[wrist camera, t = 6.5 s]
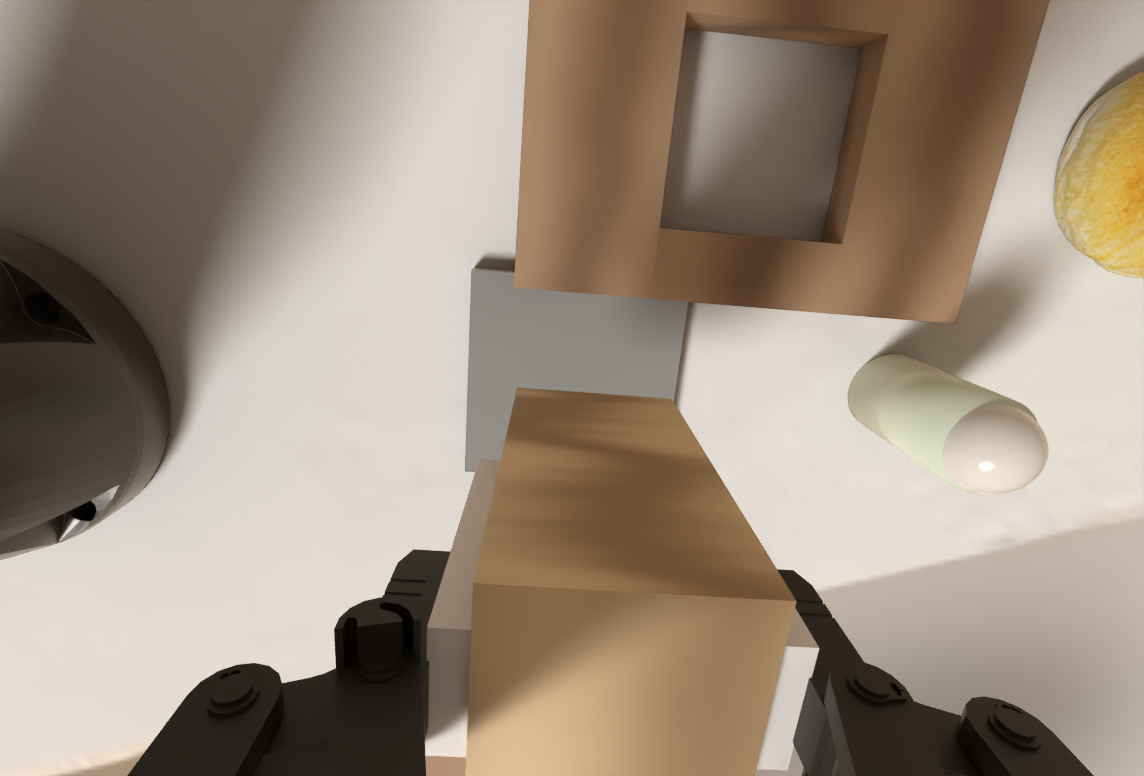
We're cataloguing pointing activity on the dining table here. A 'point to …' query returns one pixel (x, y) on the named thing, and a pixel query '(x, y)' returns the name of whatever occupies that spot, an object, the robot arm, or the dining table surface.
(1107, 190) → the bread roll
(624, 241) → the walnut board
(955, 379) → the sage shaker
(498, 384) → the slate board
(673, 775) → the oak block
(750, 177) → the dining table surface
